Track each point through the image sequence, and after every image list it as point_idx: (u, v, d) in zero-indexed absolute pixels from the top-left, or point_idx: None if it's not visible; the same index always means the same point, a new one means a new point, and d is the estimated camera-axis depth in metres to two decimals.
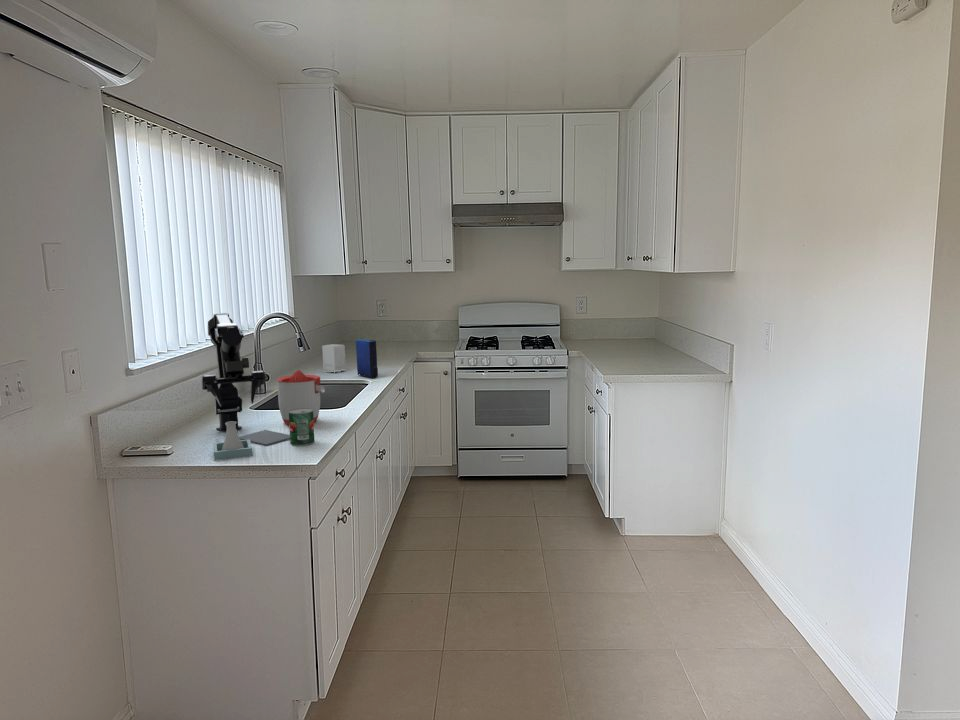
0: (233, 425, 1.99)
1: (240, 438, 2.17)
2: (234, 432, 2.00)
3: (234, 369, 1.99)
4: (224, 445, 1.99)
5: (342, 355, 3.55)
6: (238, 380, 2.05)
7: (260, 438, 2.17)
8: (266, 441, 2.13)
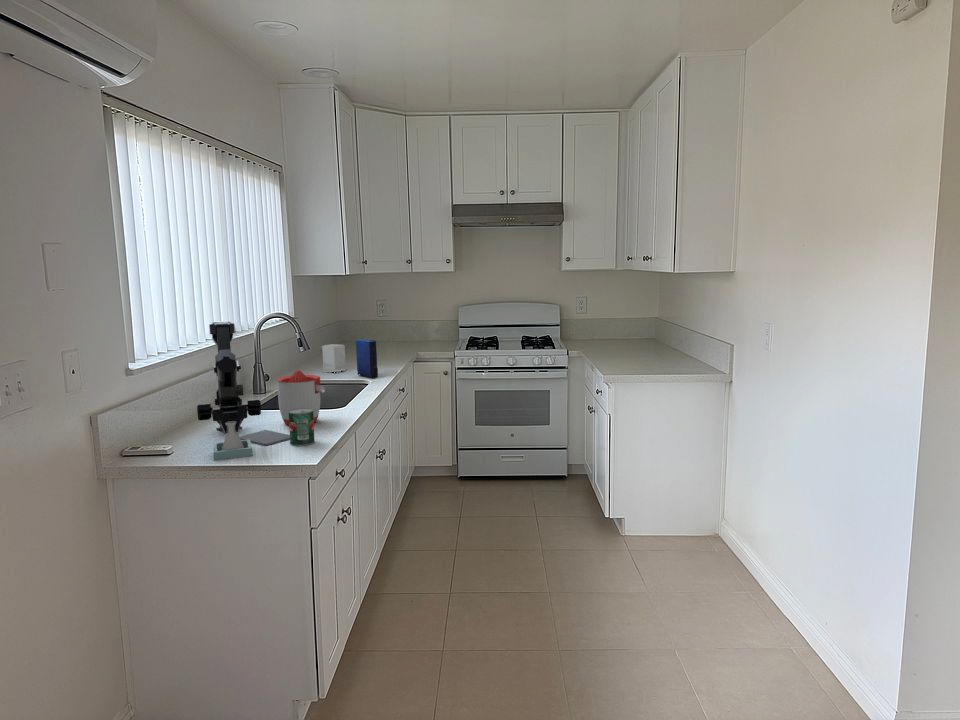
0: (233, 425, 1.99)
1: (240, 438, 2.17)
2: (234, 432, 2.00)
3: (228, 395, 1.98)
4: (224, 445, 1.99)
5: (342, 355, 3.55)
6: (234, 409, 2.04)
7: (260, 438, 2.17)
8: (266, 441, 2.13)
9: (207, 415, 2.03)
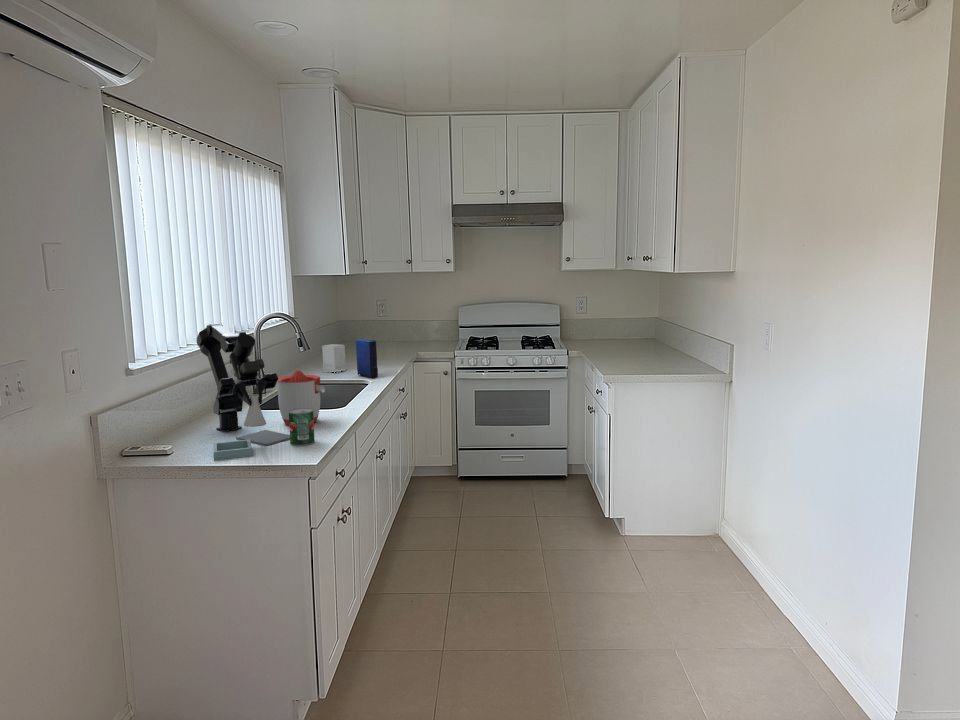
0: (257, 397, 2.09)
1: (240, 438, 2.17)
2: (258, 404, 2.10)
3: (252, 368, 2.07)
4: (248, 417, 2.08)
5: (342, 355, 3.55)
6: (252, 383, 2.13)
7: (260, 438, 2.17)
8: (266, 441, 2.13)
9: (226, 390, 2.10)
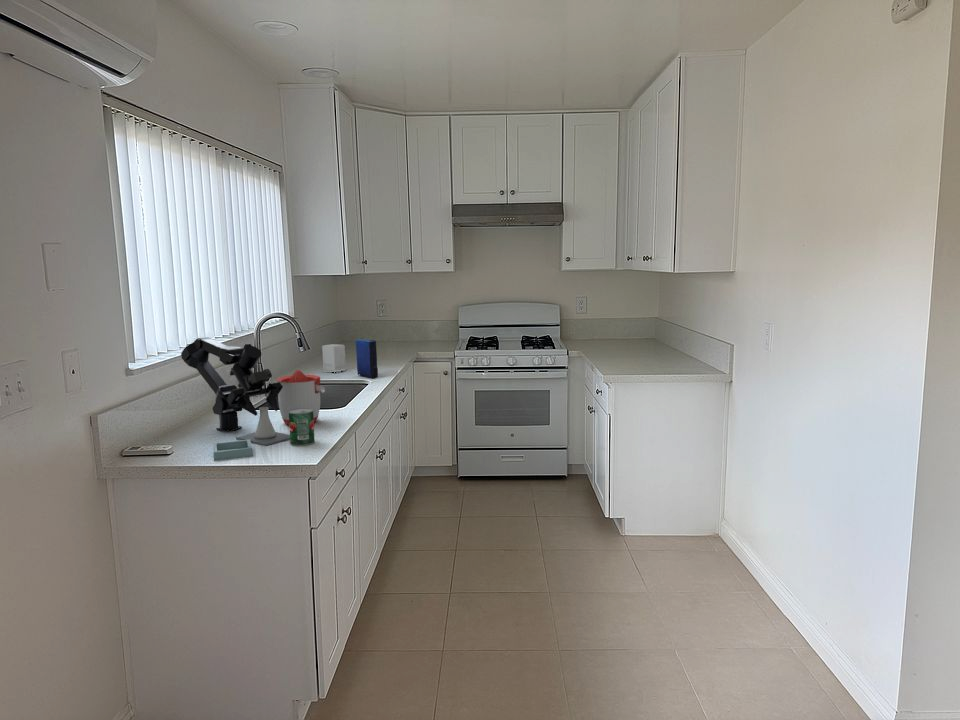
0: (267, 410, 2.17)
1: (240, 438, 2.17)
2: (268, 416, 2.18)
3: (262, 378, 2.15)
4: (261, 429, 2.16)
5: (342, 355, 3.55)
6: (259, 392, 2.20)
7: None
8: (266, 441, 2.13)
9: (234, 401, 2.15)
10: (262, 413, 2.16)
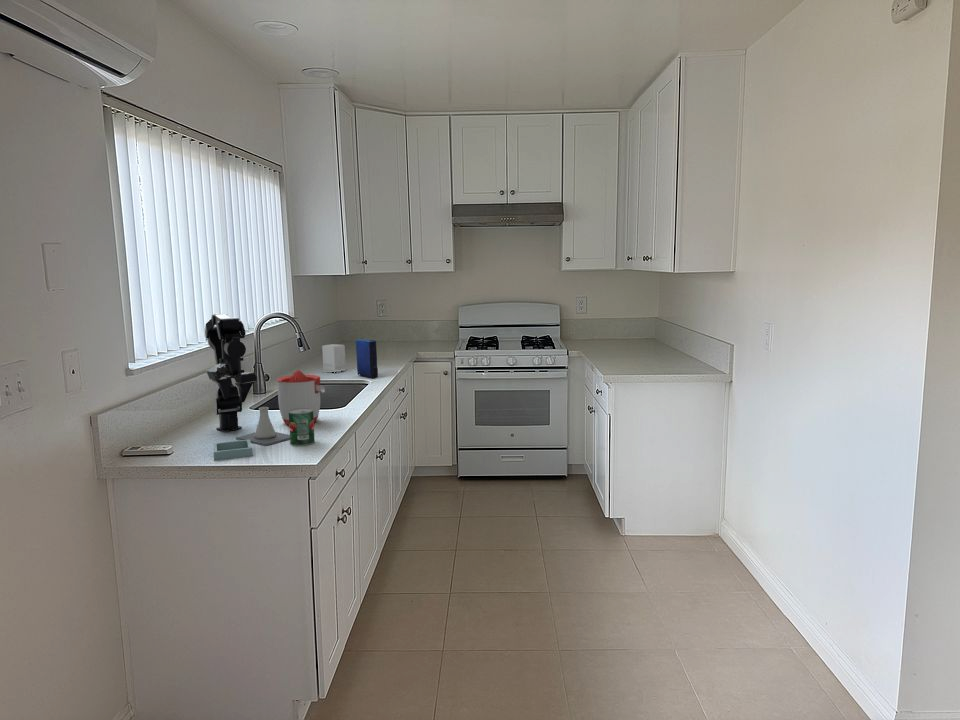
0: (267, 410, 2.17)
1: (240, 438, 2.17)
2: (268, 416, 2.18)
3: (211, 378, 2.10)
4: (261, 429, 2.16)
5: (342, 355, 3.55)
6: (234, 377, 2.16)
7: None
8: (266, 441, 2.13)
9: None
10: (262, 413, 2.16)
